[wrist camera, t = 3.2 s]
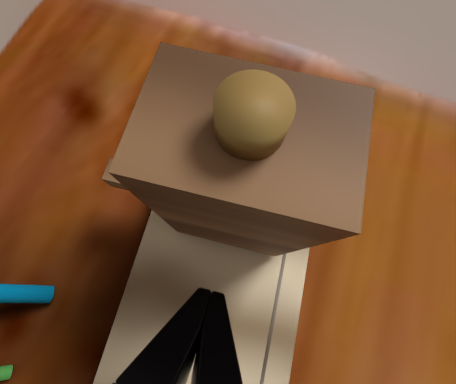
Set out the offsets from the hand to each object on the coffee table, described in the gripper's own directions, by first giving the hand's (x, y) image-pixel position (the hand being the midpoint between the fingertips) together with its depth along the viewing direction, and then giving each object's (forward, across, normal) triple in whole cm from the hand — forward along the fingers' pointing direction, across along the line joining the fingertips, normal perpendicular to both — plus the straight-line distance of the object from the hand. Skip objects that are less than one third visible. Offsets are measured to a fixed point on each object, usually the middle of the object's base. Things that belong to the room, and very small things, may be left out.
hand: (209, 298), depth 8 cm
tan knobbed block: (+8, +1, +2) cm, 8 cm away
